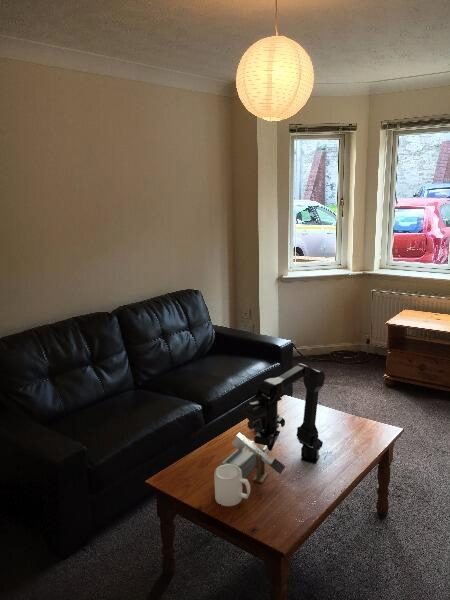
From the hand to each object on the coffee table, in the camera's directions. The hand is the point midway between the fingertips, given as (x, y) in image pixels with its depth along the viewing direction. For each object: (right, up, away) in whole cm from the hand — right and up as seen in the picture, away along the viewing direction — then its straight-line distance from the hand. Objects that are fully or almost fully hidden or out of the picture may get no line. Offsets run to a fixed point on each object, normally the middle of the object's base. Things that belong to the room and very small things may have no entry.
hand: (270, 450), depth 184 cm
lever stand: (-3, -12, +5) cm, 14 cm away
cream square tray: (-5, -9, +21) cm, 24 cm away
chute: (-11, -12, +9) cm, 19 cm away
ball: (-5, -6, +22) cm, 24 cm away
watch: (0, -4, +42) cm, 42 cm away
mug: (-15, -16, -7) cm, 23 cm away
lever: (-6, -6, +5) cm, 10 cm away
